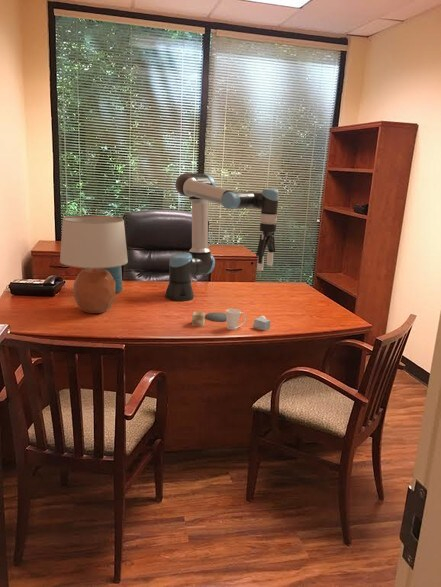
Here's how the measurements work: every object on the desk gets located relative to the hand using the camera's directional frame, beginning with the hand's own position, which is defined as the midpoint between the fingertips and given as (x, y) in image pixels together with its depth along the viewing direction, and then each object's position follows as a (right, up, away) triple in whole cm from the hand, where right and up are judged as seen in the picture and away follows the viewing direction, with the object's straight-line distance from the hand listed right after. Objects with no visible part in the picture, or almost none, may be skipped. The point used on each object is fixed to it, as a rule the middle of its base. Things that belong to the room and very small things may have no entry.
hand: (264, 267), depth 230 cm
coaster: (-22, -24, -2) cm, 32 cm away
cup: (-15, -28, -15) cm, 35 cm away
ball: (-2, -26, -8) cm, 28 cm away
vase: (-83, -11, +33) cm, 90 cm away
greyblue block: (-3, -28, -13) cm, 31 cm away
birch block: (-31, -26, -13) cm, 43 cm away
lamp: (-80, -21, -3) cm, 83 cm away
